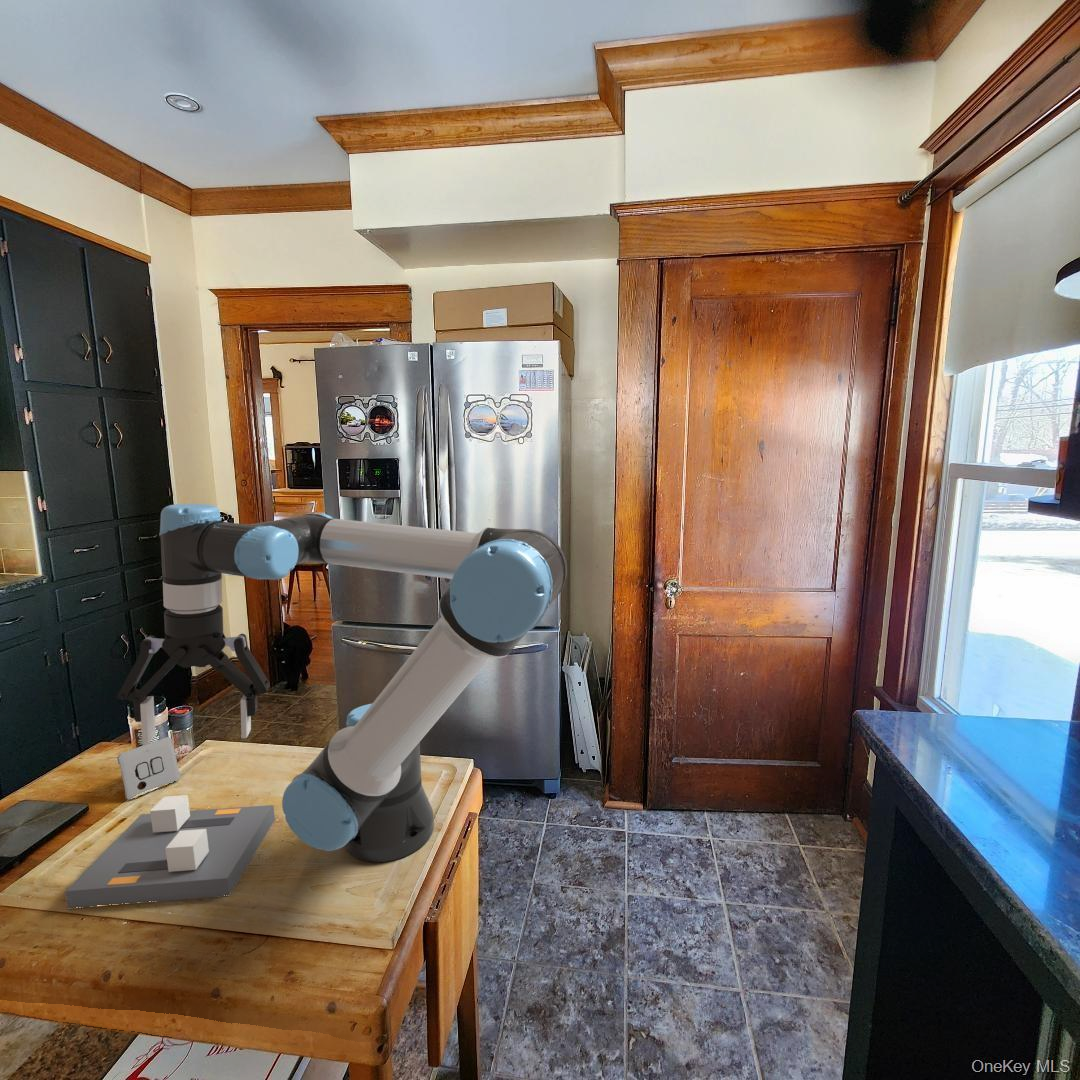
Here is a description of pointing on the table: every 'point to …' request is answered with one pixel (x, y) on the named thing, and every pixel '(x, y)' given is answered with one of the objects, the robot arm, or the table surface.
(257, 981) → the table surface
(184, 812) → the tab right
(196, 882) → the switch panel
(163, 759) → the electrical switch
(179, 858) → the tab left
